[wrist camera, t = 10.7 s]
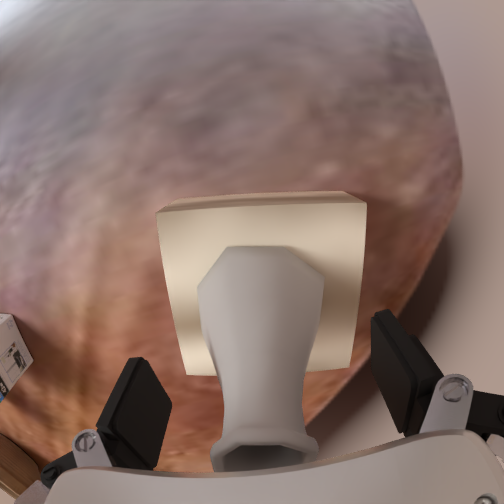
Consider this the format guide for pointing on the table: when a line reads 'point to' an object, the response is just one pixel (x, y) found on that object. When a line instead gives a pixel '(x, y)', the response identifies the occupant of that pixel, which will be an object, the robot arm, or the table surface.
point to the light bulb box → (11, 354)
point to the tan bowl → (16, 469)
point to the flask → (261, 353)
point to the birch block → (267, 235)
